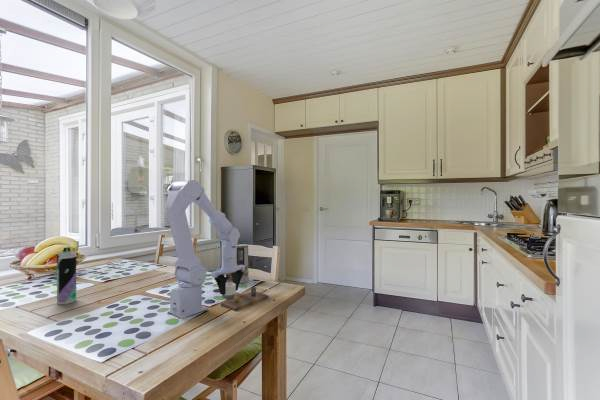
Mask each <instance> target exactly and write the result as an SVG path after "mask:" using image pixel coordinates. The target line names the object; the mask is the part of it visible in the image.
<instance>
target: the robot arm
mask: <svg viewBox="0 0 600 400" xmlns="http://www.w3.org/2000/svg"><path fill="white" fill-rule="evenodd" d="M205 191H206V189H205V188H204V187H203V186H202V185H201V183H200V182H199V181H198V180H196V179H190V180H175V181H172V183H171V184H170V185H169V186H168V188H167V198H166V199H167V200H166V204H165V212H166V216H167V219H168V224H169V228H170V232H171V234H172V239H173V244H174V248H175V252H176V256H177V260H176V261H175V262H174V267H175V269H174V278H175V279H176V281H178V286H177V287H175V288H172V289H171V291H170V297H169V300H170V301H169V302H170V303H169V304H170V306H169V307H170V309H169V311H168V313H169V314H171V315H173V316H176V317H178V318H180V319H183V318H187V317H189V316H192V315H196V314H198V313H201V312H204V311H207V310H208V307H206V306H204V305H203V303H202V302H203V301H202V300H203V297H202V296H203V294H202V293H203V284H204V282H205V280H206V278H207V269H206V268H205V267H204V266H203V264H202V263H203V262H202V260H201V259H200V258H199V257H198V256H197V255H196V252H195V247H194V243H193V239H192V235H191V230H190V226H189V222H188V217H187V212H186V210H187V208H188V207H189V206H190V205H191V204H192V203H195V204H196V205H197V206H198V207H199V208H200V209H201V210H202V211H203V213H204V214H206V216H208V217H209V219H208V222H209V224H210V225H211V226H212V227H213V229H214V230H215V231H216V233H217V238H218V239H219V240H220V241H221V267H220V268H219V269H216V270H214V271H211V278H213V279H214V280H215V282H216V285H217V287H218V291H219V294H220V295H221V296H222V295H225V286H226V281H227V277H226V274H230V273H231V275H232V280H233V283H235V284H236V292H237V291H239V287H240V286H239V285H240V284H241V283H240V280H241V278H242V276H243V274H244V272H242V271H241V270H245V265H238V266H237V246H238V244H239V243H238V241H239V239H240V236H241V233H240V231H239V229H238V228H237V227H236V226H233V225H232V222H230V221H229V220H228V218H227V217H226V213H223V212H222V211H218V210H217V208H215V206H214V204H213V203H212V202H211V200H210V199H209V197H208V196H207V194H206V192H205Z"/></svg>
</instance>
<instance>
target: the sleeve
mask: <svg viewBox="0 0 600 400" xmlns="http://www.w3.org/2000/svg"><path fill="white" fill-rule="evenodd" d="M235 293H237V291H236V284H235V283H226V286H225V295H222V294H221V297H222V298H223V299H226V300H227V299H233V298H235Z"/></svg>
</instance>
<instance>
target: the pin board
mask: <svg viewBox="0 0 600 400" xmlns="http://www.w3.org/2000/svg"><path fill="white" fill-rule="evenodd" d="M250 289H251V290H250V292H248V293H245V294H242V295H240V292H237V291H236V293H235V297H233V298H229V299H228V300H227V299H226V300H225V301H222V302H220V306H222V307H223V308H226V309H229V310H231V311H235V312H236V311H239V310H242V309H243V308H244V309H245V308H246V307H249V306H253V305H254V304H257V303H259V302H262V301H264V300H267V299H269V298H270V297H269V294H265V293H262V292H259V291H257V288H256V287H255V286H252V287H251V288H250Z"/></svg>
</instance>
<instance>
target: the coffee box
mask: <svg viewBox="0 0 600 400" xmlns="http://www.w3.org/2000/svg"><path fill="white" fill-rule="evenodd" d="M238 265H245V270H241V271H242V272H244V274H243V276H242V278H241V280H240V283H239V284H246V283H247V282H248V281H249V245H237V266H238ZM225 277H227V281H226V283H233V280H232V275H231V273H230V274H226V275H225Z"/></svg>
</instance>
